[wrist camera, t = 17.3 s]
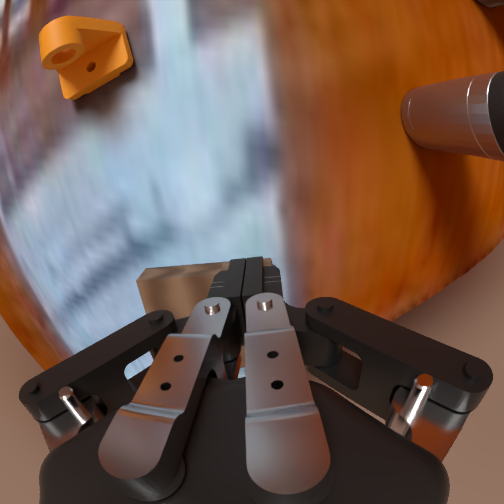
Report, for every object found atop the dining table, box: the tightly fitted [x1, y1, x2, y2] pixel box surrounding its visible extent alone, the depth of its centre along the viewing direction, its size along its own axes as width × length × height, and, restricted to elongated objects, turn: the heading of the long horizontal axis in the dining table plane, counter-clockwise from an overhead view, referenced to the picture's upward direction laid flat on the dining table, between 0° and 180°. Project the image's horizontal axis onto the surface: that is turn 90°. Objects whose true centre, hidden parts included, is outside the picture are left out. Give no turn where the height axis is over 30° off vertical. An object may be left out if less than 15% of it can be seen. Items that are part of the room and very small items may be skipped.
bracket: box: [39, 16, 133, 100], centre depth 22 cm, size 11×7×12 cm
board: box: [136, 258, 272, 367], centre depth 40 cm, size 18×16×4 cm
